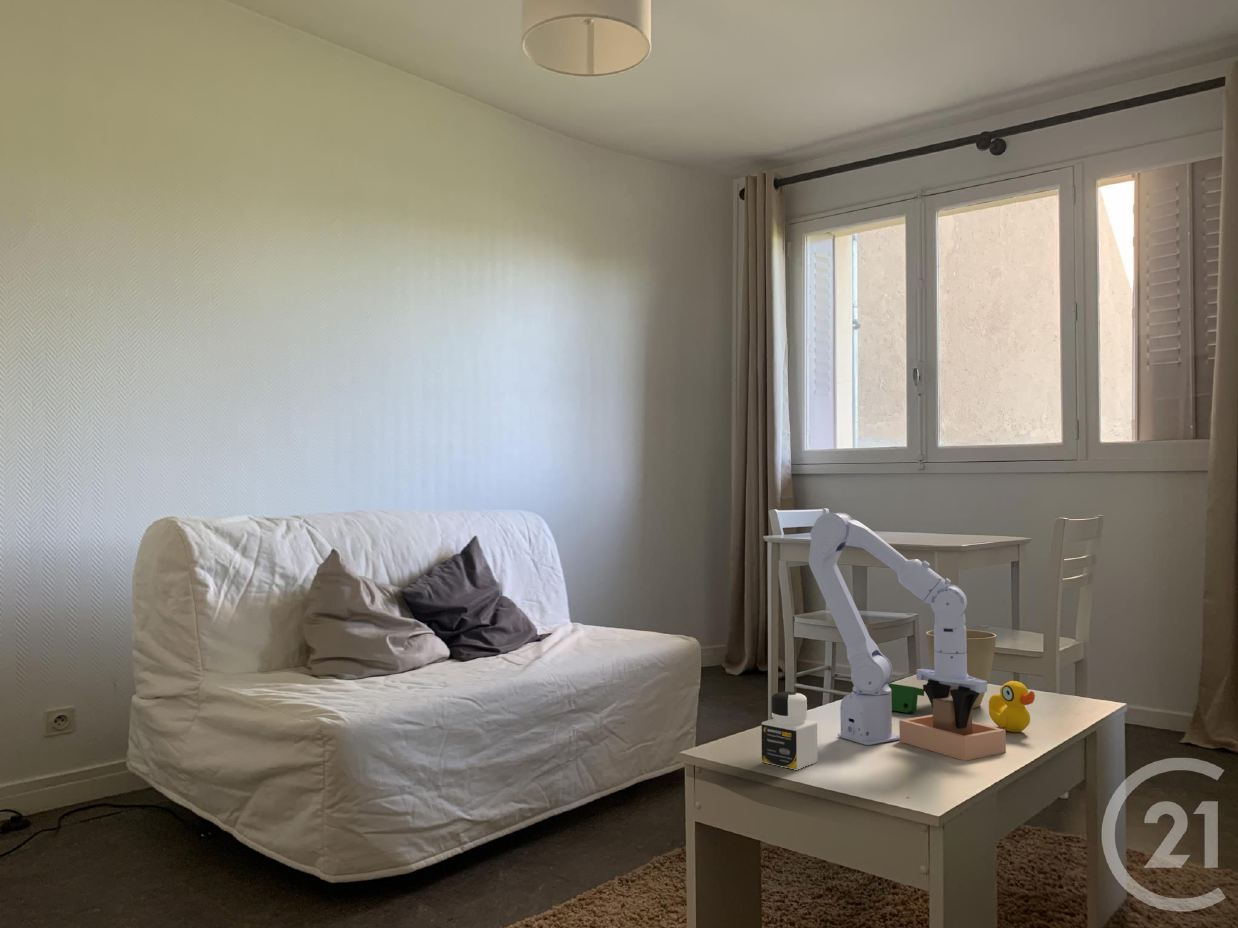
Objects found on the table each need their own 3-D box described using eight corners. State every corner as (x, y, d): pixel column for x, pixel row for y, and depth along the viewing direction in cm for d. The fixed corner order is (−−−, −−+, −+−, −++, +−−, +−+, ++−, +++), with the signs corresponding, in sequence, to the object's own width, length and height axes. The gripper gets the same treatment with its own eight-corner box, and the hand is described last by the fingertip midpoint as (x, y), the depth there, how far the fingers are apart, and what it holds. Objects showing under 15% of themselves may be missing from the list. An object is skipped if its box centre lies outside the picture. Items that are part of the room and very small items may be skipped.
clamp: (914, 730, 200) (933, 694, 199) (900, 728, 196) (920, 691, 195) (871, 700, 209) (889, 665, 208) (857, 698, 205) (876, 662, 204)
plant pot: (946, 694, 216) (945, 627, 217) (1009, 705, 205) (1008, 633, 206) (914, 704, 206) (913, 633, 207) (978, 715, 195) (977, 640, 196)
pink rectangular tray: (965, 760, 161) (964, 737, 161) (899, 741, 174) (899, 720, 174) (1005, 752, 166) (1005, 729, 167) (939, 733, 179) (939, 713, 179)
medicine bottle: (760, 763, 159) (760, 693, 160) (783, 754, 164) (782, 687, 165) (796, 771, 154) (795, 699, 155) (818, 762, 160) (817, 693, 160)
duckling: (1045, 737, 177) (1044, 685, 178) (1023, 739, 175) (1022, 686, 176) (1002, 723, 188) (1002, 674, 188) (981, 725, 186) (980, 676, 187)
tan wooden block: (950, 741, 167) (950, 702, 167) (932, 736, 170) (932, 698, 171) (972, 737, 170) (971, 699, 170) (954, 732, 174) (954, 695, 174)
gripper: (997, 655, 167) (999, 730, 166) (933, 644, 179) (934, 714, 179) (971, 658, 163) (973, 735, 162) (908, 647, 176) (909, 718, 175)
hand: (951, 724), depth 170 cm, fingers closed on tan wooden block, 4 cm apart
